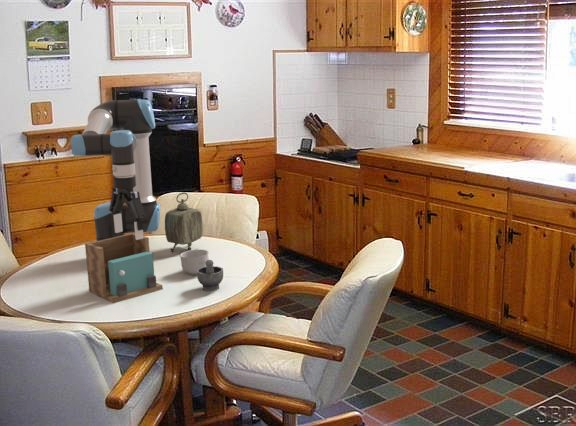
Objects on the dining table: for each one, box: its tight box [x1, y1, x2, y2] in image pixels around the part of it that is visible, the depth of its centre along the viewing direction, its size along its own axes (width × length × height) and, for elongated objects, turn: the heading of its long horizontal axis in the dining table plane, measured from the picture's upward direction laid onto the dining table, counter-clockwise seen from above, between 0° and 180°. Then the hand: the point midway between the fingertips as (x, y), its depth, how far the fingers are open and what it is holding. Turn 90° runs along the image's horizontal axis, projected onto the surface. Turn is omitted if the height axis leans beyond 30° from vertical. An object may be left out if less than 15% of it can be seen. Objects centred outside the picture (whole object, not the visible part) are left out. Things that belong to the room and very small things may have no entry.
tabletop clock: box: [164, 192, 204, 253], centre depth 319 cm, size 14×9×25 cm, turn 144°
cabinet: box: [84, 233, 164, 304], centre depth 270 cm, size 17×20×18 cm
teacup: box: [179, 248, 210, 276], centre depth 291 cm, size 14×11×8 cm
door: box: [108, 251, 155, 296], centre depth 266 cm, size 5×16×12 cm, turn 133°
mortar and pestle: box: [196, 259, 224, 292], centre depth 270 cm, size 11×9×12 cm
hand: (129, 235), depth 264 cm, fingers open, 13 cm apart
